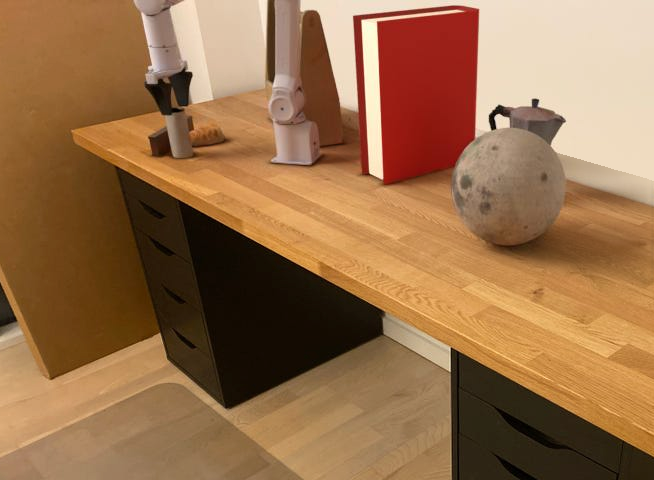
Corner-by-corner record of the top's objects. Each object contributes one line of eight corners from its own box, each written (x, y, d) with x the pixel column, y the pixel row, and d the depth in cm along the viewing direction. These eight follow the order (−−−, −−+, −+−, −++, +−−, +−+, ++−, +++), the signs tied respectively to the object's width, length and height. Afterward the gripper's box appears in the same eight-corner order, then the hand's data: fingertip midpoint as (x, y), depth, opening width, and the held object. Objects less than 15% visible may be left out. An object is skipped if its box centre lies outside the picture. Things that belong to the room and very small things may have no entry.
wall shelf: (195, 133, 181) (192, 115, 178) (159, 156, 166) (155, 137, 163) (188, 133, 181) (185, 115, 179) (152, 156, 166) (147, 136, 164)
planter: (172, 153, 168) (162, 108, 162) (192, 151, 169) (183, 106, 164) (173, 159, 164) (164, 113, 159) (194, 157, 166) (185, 111, 160)
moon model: (572, 229, 136) (584, 122, 125) (541, 273, 121) (552, 155, 110) (474, 212, 142) (477, 108, 131) (432, 252, 127) (432, 138, 116)
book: (383, 184, 154) (376, 21, 136) (361, 174, 159) (352, 15, 141) (477, 159, 169) (483, 9, 151) (455, 151, 174) (458, 4, 156)
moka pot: (556, 209, 144) (566, 107, 133) (480, 202, 147) (484, 101, 136) (560, 192, 152) (570, 94, 141) (488, 186, 155) (492, 89, 143)
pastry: (193, 149, 170) (190, 133, 168) (177, 143, 174) (174, 127, 172) (227, 141, 176) (224, 125, 174) (211, 135, 180) (209, 120, 178)
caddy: (268, 118, 194) (252, -6, 177) (307, 114, 198) (295, -8, 181) (302, 149, 172) (287, 11, 156) (344, 143, 177) (334, 9, 160)
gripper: (161, 38, 160) (174, 101, 168) (126, 50, 148) (141, 118, 156) (191, 39, 159) (202, 103, 167) (158, 52, 147) (172, 120, 155)
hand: (175, 110), depth 161 cm, fingers open, 7 cm apart
